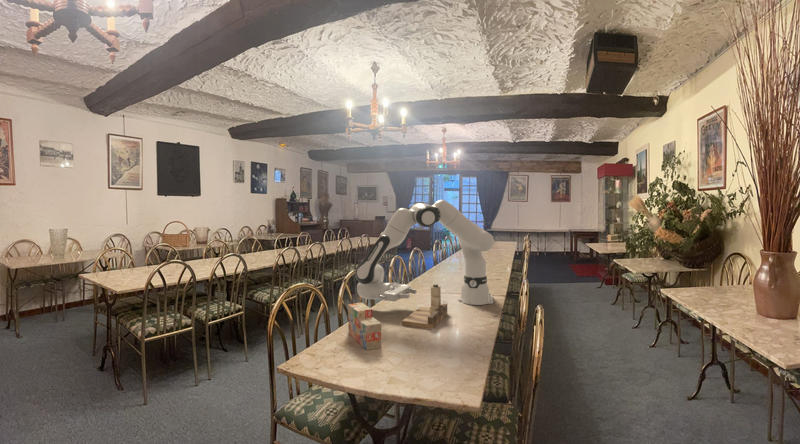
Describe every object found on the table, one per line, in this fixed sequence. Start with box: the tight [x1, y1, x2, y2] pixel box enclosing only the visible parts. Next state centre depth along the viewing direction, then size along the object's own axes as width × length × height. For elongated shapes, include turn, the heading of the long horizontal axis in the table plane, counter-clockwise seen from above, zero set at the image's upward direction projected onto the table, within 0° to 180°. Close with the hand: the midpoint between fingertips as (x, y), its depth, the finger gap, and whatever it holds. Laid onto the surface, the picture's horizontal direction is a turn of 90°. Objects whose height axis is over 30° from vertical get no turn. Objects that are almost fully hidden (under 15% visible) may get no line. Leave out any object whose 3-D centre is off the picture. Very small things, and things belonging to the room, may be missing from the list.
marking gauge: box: [429, 283, 443, 313], centre depth 176 cm, size 7×4×13 cm, turn 157°
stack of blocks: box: [347, 302, 382, 351], centre depth 146 cm, size 21×6×12 cm, turn 26°
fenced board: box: [401, 303, 448, 330], centre depth 171 cm, size 23×14×5 cm, turn 157°
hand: (412, 294), depth 180 cm, fingers open, 8 cm apart
